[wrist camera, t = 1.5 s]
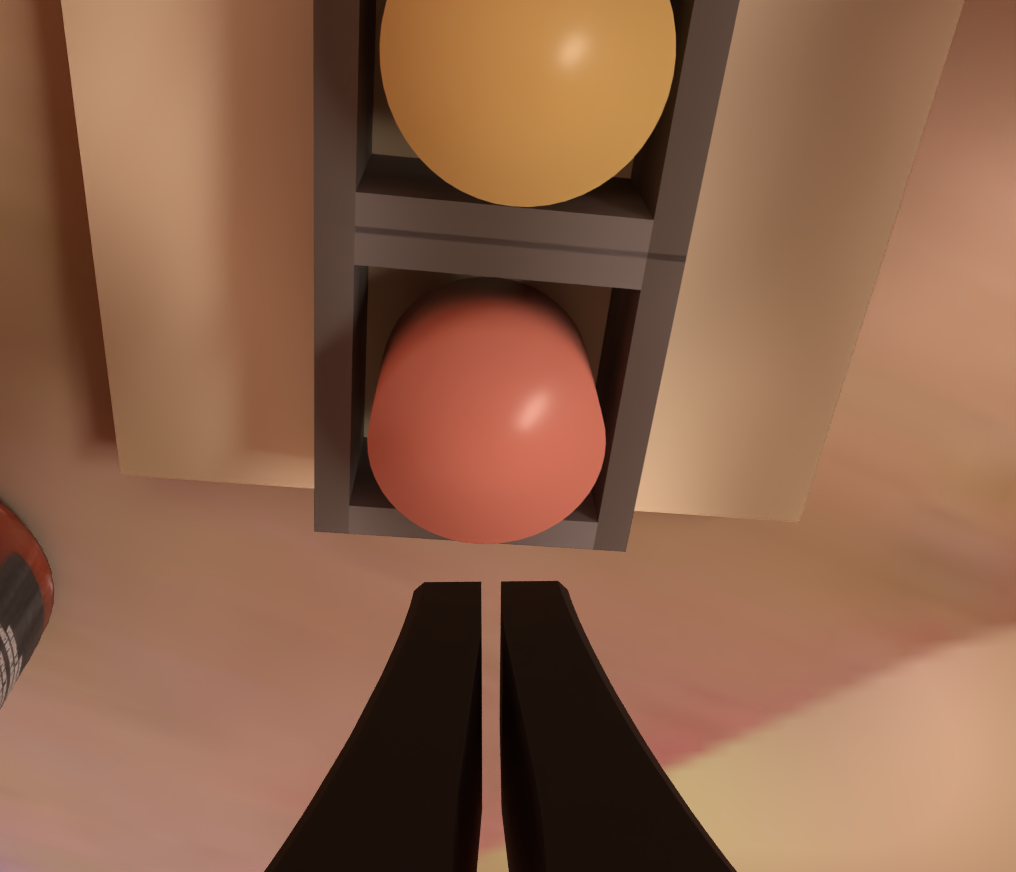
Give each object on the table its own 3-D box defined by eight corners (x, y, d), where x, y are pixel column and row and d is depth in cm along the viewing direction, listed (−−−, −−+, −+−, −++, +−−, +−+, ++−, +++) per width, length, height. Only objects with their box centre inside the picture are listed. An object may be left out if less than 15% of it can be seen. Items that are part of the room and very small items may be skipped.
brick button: (602, 286, 15) (624, 349, 13) (573, 468, 17) (586, 551, 15) (385, 267, 15) (370, 328, 13) (378, 455, 17) (364, 536, 15)
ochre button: (664, -93, 13) (703, -93, 10) (621, 171, 14) (647, 218, 12) (401, -124, 12) (384, -131, 10) (390, 149, 14) (375, 193, 12)
